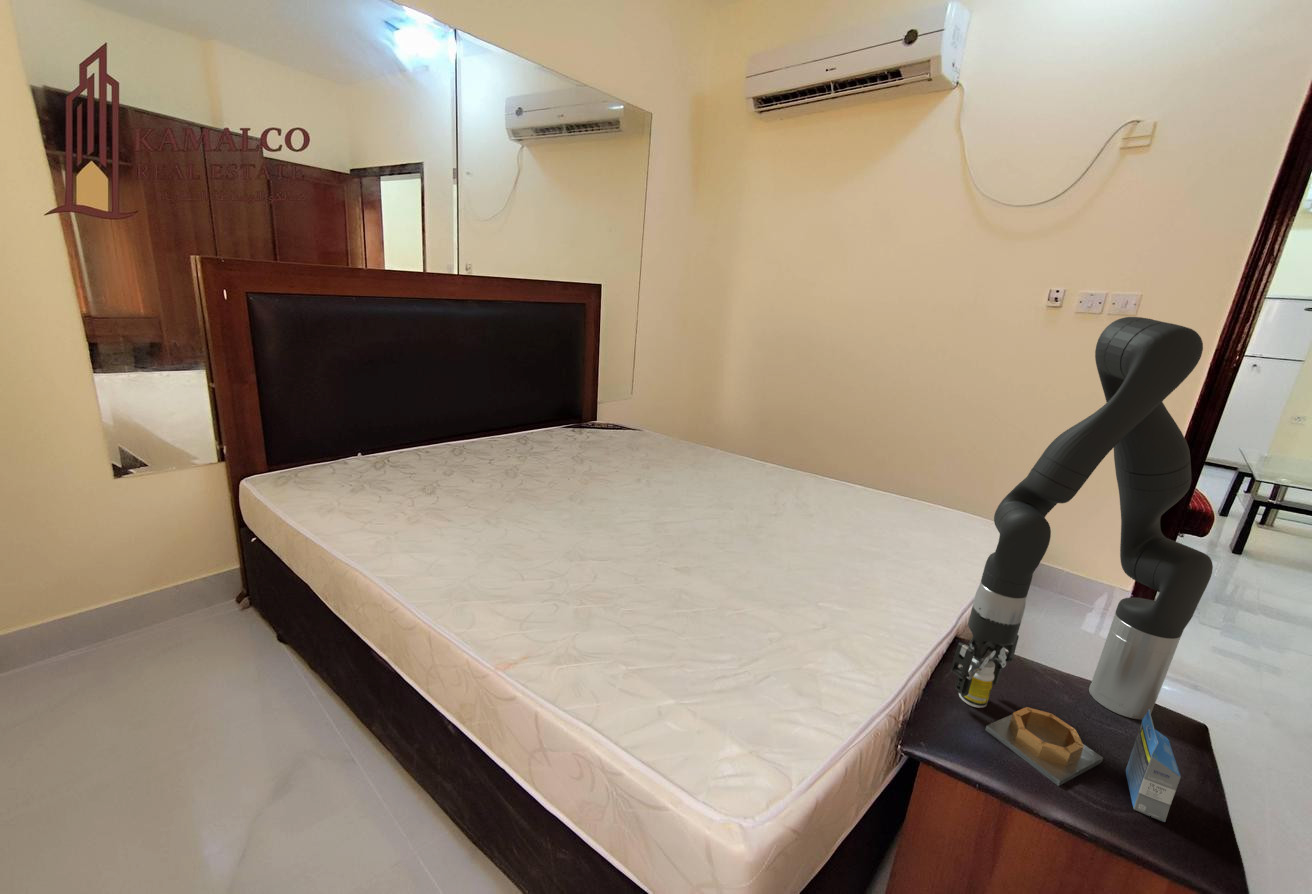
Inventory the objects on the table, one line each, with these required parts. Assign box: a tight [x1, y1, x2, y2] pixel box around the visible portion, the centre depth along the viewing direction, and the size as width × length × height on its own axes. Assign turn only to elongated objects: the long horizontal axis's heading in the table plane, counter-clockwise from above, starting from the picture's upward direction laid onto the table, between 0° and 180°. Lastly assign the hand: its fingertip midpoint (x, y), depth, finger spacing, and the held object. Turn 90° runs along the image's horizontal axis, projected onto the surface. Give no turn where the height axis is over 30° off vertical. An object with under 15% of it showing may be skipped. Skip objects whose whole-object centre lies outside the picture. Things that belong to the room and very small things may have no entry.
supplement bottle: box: [958, 658, 995, 709], centre depth 101 cm, size 5×5×8 cm
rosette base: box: [985, 706, 1104, 787], centre depth 92 cm, size 12×12×4 cm
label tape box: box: [1125, 709, 1182, 823], centre depth 83 cm, size 9×4×12 cm, turn 146°
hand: (975, 686), depth 101 cm, fingers open, 8 cm apart
